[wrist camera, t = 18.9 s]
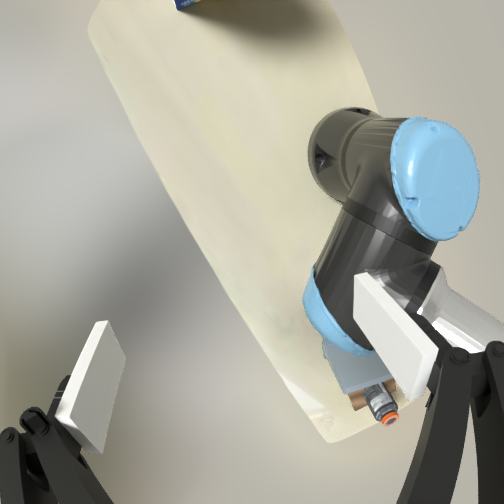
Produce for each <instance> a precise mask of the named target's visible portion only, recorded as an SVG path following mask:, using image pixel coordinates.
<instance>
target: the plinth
mask: <svg viewBox="0 0 504 504" xmlns="http://www.w3.org/2000/svg"><path fill="white" fill-rule="evenodd" d="M383 383H384V384H385V386H386V387H387V389H388V391H389V392H390V393H391V392H393V391H395V390H396V388H395V382H394V378H392V379H389V380H386V381H384V382H383ZM364 389H365V388H363V389H360V390H357V391H354V392H350V393H348V395H349V398H350V400H351V403H352V406H353V408H354V410H355V411H357V410H359V409H361V408H363V407H365V406H367V405H368V404H367V402H366V401H365V399H364V397H363V390H364Z"/></svg>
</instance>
